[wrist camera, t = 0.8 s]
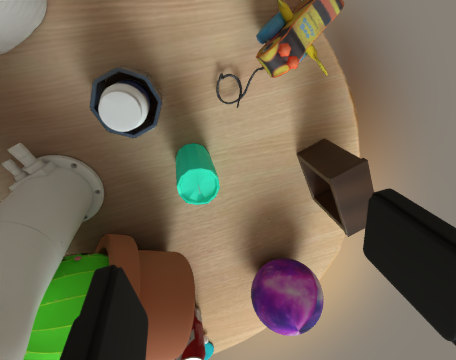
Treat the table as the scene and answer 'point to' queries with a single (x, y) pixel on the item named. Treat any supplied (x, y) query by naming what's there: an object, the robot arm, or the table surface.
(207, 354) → the ornament
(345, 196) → the shelf
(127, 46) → the table surface
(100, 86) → the holder
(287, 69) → the toy bee
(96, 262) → the potted cactus
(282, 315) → the decorative orb
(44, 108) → the table surface
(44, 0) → the toilet tissue
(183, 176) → the candle
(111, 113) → the pill bottle
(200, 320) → the soda can
